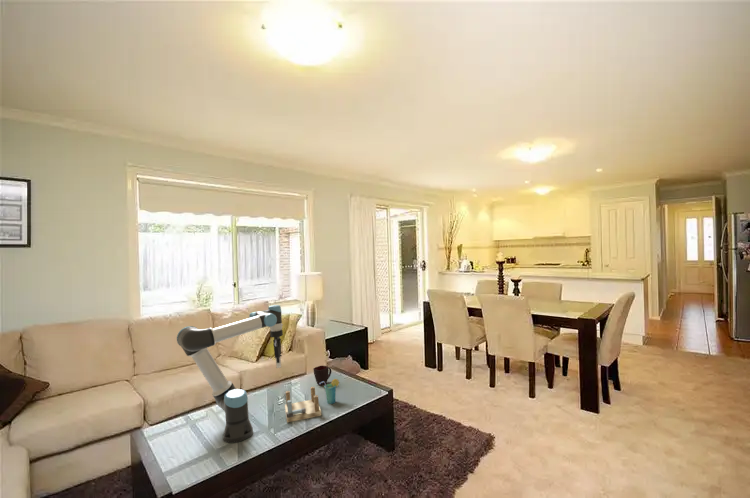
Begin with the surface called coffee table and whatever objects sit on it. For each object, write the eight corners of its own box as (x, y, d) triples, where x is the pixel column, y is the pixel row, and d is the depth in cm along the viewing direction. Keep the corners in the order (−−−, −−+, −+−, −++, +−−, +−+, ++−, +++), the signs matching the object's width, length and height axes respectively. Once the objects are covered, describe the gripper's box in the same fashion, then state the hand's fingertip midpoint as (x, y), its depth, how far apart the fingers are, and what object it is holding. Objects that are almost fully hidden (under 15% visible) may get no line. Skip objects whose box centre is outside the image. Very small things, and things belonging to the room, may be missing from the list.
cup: (323, 408, 223) (322, 383, 223) (317, 404, 229) (315, 380, 229) (342, 401, 232) (340, 377, 232) (336, 397, 238) (334, 375, 238)
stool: (286, 422, 207) (285, 403, 207) (285, 408, 226) (283, 391, 226) (321, 415, 213) (320, 396, 213) (316, 402, 232) (315, 385, 232)
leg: (305, 411, 214) (304, 397, 214) (305, 412, 211) (304, 399, 211) (288, 414, 211) (287, 400, 211) (288, 416, 209) (287, 402, 209)
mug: (312, 384, 265) (311, 368, 265) (327, 379, 275) (326, 363, 275) (320, 387, 258) (319, 371, 258) (335, 381, 268) (334, 365, 268)
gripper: (280, 331, 220) (283, 370, 220) (284, 327, 233) (286, 363, 233) (268, 332, 219) (270, 371, 219) (272, 328, 232) (274, 364, 232)
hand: (278, 367), depth 226 cm, fingers closed
